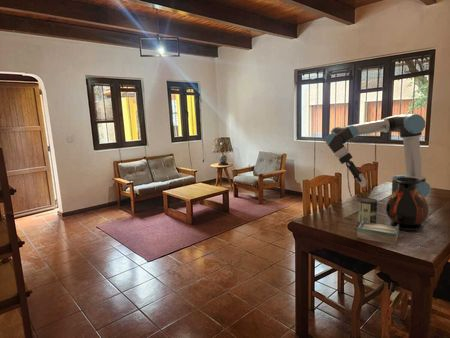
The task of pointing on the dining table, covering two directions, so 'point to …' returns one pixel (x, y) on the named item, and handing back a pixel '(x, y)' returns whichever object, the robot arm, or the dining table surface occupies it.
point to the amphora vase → (407, 206)
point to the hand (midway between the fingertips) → (364, 184)
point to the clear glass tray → (378, 232)
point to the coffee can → (367, 210)
